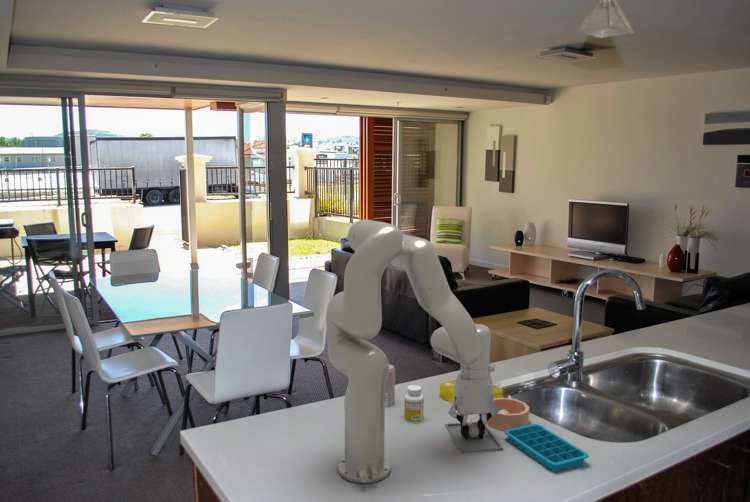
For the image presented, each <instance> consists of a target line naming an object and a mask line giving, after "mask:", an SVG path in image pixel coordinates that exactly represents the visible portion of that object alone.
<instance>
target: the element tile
mask: <svg viewBox="0 0 750 502" xmlns="http://www.w3.org/2000/svg"><path fill="white" fill-rule="evenodd" d="M455 382H456V379H455V380H451V381H448V382H447V381H446V382H443V383H441V384H439V398H440V399H442V400H443V401H445V402H449V403H451V404H453V397H454V388H455ZM493 393H494V398H504V390H503V389H502V388H501V387H498V386H497V385H494V384H493Z"/></svg>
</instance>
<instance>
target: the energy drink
mask: <svg viewBox="0 0 750 502" xmlns="http://www.w3.org/2000/svg"><path fill="white" fill-rule="evenodd" d="M395 392H396V368H395V366H394V365H393V364H391V363H389V371H388V376H387V381H386V387H385V408H386V407H387V408H388V407H392V406H394V405H395V402H396V396H395V395H396V393H395Z"/></svg>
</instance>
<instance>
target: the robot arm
mask: <svg viewBox="0 0 750 502" xmlns="http://www.w3.org/2000/svg"><path fill="white" fill-rule="evenodd" d="M347 242H348V244H349V247H350V248H351V249H352V250H353V251H354V253H353V254H352V256H351V257H350V259H349V260H348V262H347V264H346V267H345V270H344V275H343V291H340V292H338V293H336V294H335V295H333V297H332V298H331V299H330V300H329V303H328V304H327V308H326V312H325V313H326V314H325V315H326V317H325V318H326V319H325V321H326V322H325V323H326V325H325V327H326V343H327V346H326V347H327V355H328V360H329V362H330V363H331V365H332V367H334V368H335V369H336V370H337V371H339V372H341V373H342V374H343V375H344V376H346V377H347V378H348V384H347V387H346V390H345V394H344V403H343V404H344V408H343V409H344V458H342V459H341V460H340V461H339V463H338V465H337V466H338V467H337V470H338V473H339V476H340V477H342V478H343V479H345V480H346V481H349V482H353V483H356V484H357V483H359V484H371V483H372V484H373V483H375V482H380V481H382V480H384V479H385V478H387V477H388V476H389V475H390V473H391V469H392V468H391V462H390V461H389V460H388V459H387V458H385V423H386V422H385V417H386V415H385V412H386V409H385V408H386V407H385V387H386V381H387V376H388V371H389V364H390V363H389V359H388V357H387V355H386V353H385V352H384V351H383V350H382V349H381V348H380V347H379V346H377V345H375V344H373V343H372V342H370V341H368V340H372V339H373V338H375V337H377V336H378V334H379V332H380V331H381V328H382V321H383V318H382V317H383V314H382V277H383V274H384V271H385V270H386V269H387V267H388V265H389V266H392V267H396V268H399V269H402V270H404V271H405V273H406V275H407V277H408V279H409V283H410V284H411V287H412V290H413V292H414V295H415V298H416V300H417V302H418V304H419V306H421V307H422V309H423V310H424V311H425V312H427V313H428V314H429V315H430V316H431V317H432V318H434V319H435V320H436V321H437V322H438V323H439V324H440V325H441V327H439V328H437V329H435V330H434V331H433V333H432V334H431V336H430V345H431V347H432V349H433V351H435V352H436V353H437V354H440V355H441V356H444V357H446V358H447V359H450V360H453V361H454V362H457V363H459V364H460V372H459V373H457V375H456V377H455V380H456V382H455V388H454V397H453V403H452V405H451V407H450V408H449V409H448V412H447V413H448V415H449V416H450V417H452V418H454V419H456V420H457V421H458V423H461V435H462V436H463V437H464V439H465V440H468V430H469V426H468V425H467V420H468V419H469V416H470V415H478V417H479V418H478V420H477V421H476V422H477V426H478V427H479V430H480V433H479V435H478V436H479V437H480V438H481V439H483V434H485V425H487V421H488V420H489V419H490V418H491V417H492V416H493V415H495V414H497V413H498V409H497V407H496V406H495V404H494V393H493V385H494V384H493V379H492V376H491V372H495V366H494V365H493V366H492V365H490V362H491V341H492V340H491V339H492V338H491V336H492V334H491V329H490V328H489V327H488V326H486V325H485V324H481V323H480V324H479V323H475V322H474V320H473V318H472V317H471V315H470V313H469V312H468V311H467V310H466V308H465V307H464V305H463V304H462V303H461V301H459V299H458V298H457V296H456V295H455V294H454V293H453V292H452V290H451V288H450V285H449V283H448V280H447V277H446V275H445V271H444V269H443V266H442V264H441V261H440V258H439V256H438V253H437V251H436V250H437V249H436V248H435V246H434V245H433V243H432V242H431V241H429V240H428V239H426V238H423V237H422V238H421V237H418V236H413V235H408V234H404V233H403V232H402V230H401V229H400V228H399V227H398V226H396V225H394V224H391V223H389V222H388V223H387V222H384V221H378V220H373V219H366V218H364V219H360V220H357V221H355V222H354V223H353V224H351V225H350V227H349V230H348V232H347Z"/></svg>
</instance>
